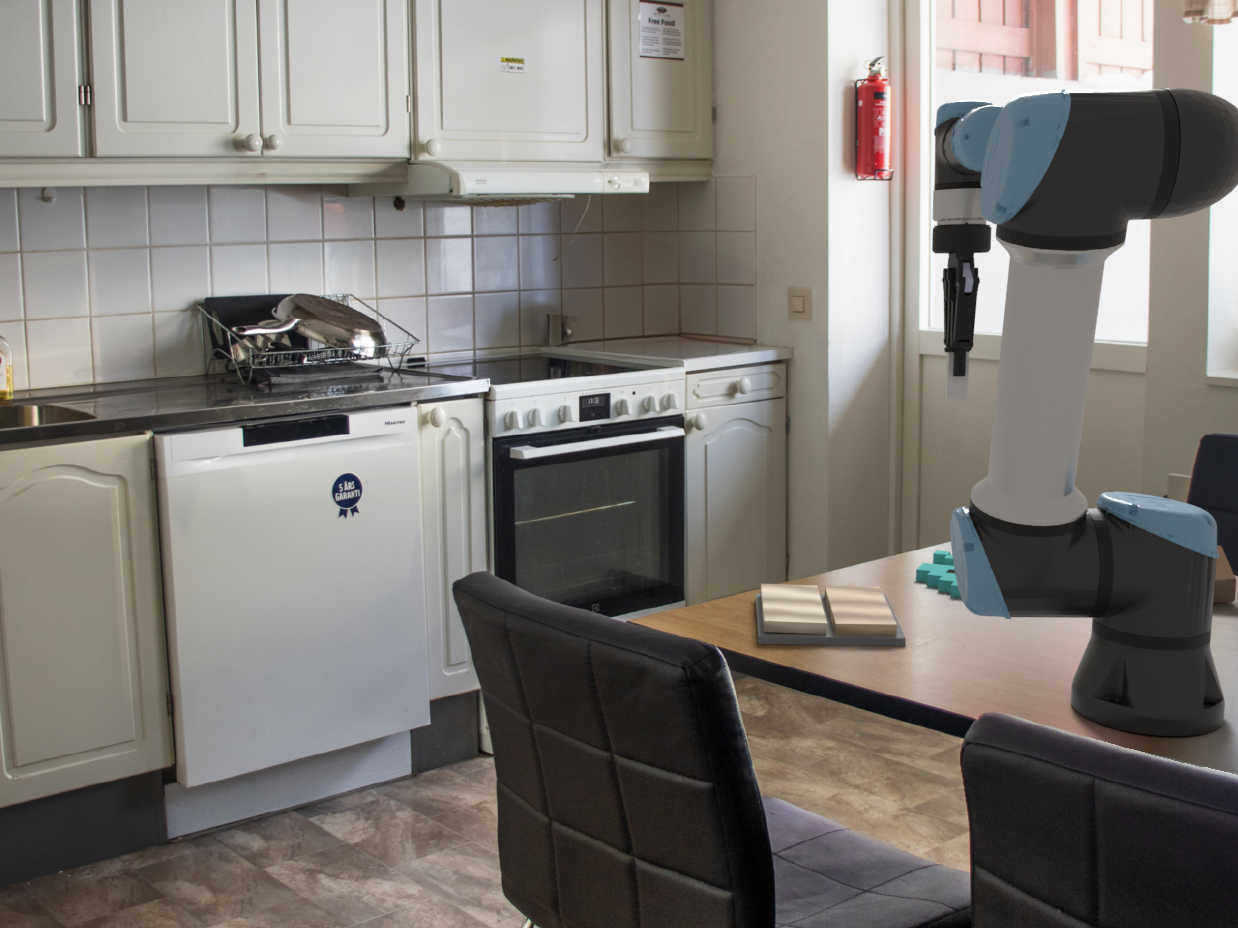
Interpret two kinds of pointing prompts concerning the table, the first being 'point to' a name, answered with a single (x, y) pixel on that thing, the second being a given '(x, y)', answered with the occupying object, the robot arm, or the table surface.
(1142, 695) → the robot arm
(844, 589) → the floor strip
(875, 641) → the underlay mat
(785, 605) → the birch plank
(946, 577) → the alien figure
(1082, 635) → the table surface
